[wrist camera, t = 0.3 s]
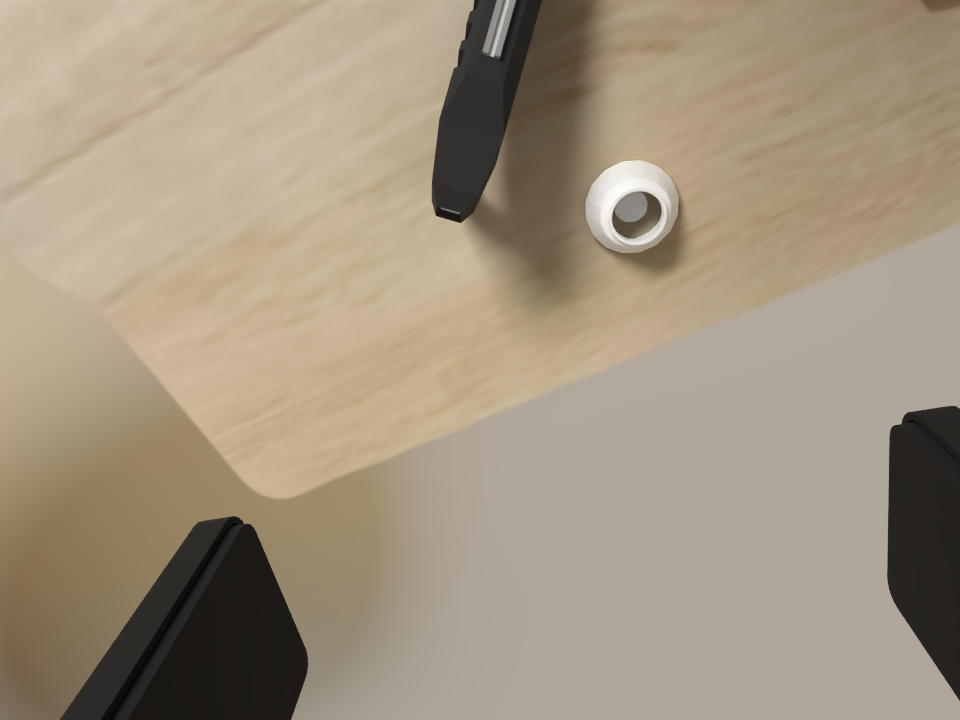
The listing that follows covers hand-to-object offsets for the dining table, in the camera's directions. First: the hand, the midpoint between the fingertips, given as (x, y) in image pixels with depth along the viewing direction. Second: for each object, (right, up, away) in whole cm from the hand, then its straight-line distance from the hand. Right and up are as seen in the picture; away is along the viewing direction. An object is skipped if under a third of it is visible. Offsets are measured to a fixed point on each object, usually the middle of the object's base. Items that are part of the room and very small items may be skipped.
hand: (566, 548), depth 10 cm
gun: (0, +19, +26) cm, 32 cm away
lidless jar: (+7, +12, +29) cm, 32 cm away
